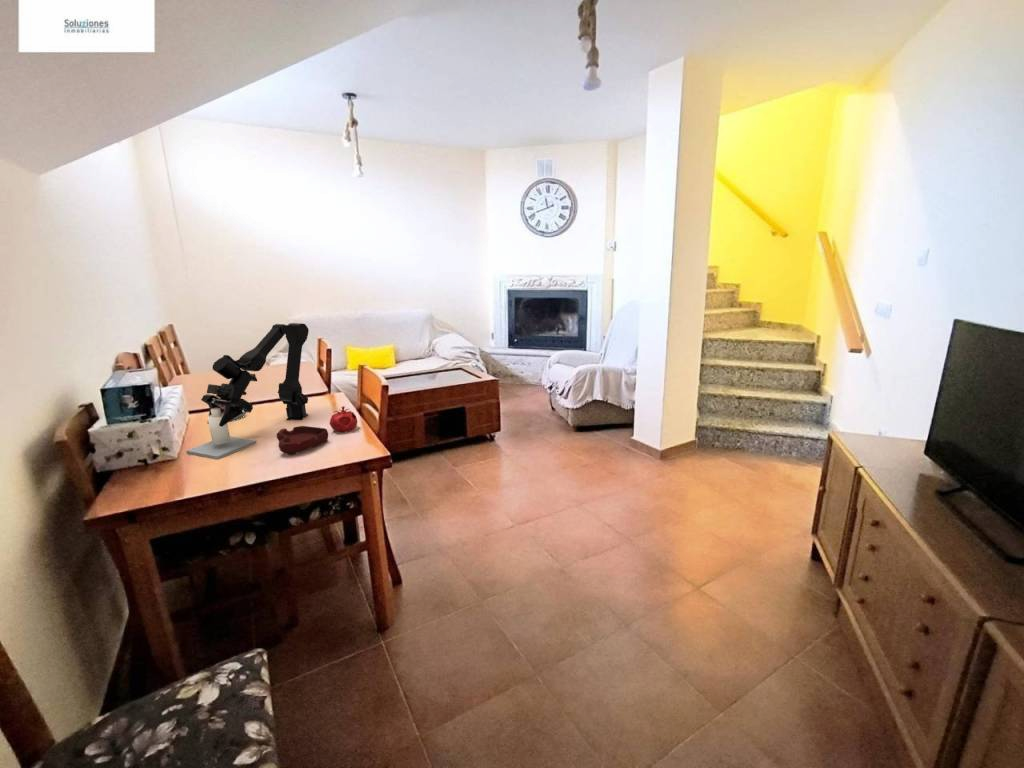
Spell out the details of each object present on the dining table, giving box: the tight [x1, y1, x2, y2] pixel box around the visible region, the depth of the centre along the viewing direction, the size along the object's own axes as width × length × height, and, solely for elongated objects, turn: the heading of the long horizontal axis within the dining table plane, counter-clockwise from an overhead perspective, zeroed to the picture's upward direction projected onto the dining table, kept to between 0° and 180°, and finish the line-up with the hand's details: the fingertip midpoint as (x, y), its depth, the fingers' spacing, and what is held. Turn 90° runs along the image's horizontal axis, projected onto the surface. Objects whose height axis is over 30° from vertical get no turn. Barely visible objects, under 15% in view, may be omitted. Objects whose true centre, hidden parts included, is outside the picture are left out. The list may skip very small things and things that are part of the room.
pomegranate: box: [329, 406, 358, 433], centre depth 179 cm, size 10×10×9 cm
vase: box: [207, 408, 231, 445], centre depth 162 cm, size 5×5×12 cm
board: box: [185, 435, 257, 460], centre depth 164 cm, size 15×15×1 cm
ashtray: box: [276, 425, 329, 456], centre depth 165 cm, size 18×16×5 cm
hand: (214, 425), depth 160 cm, fingers closed on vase, 5 cm apart
